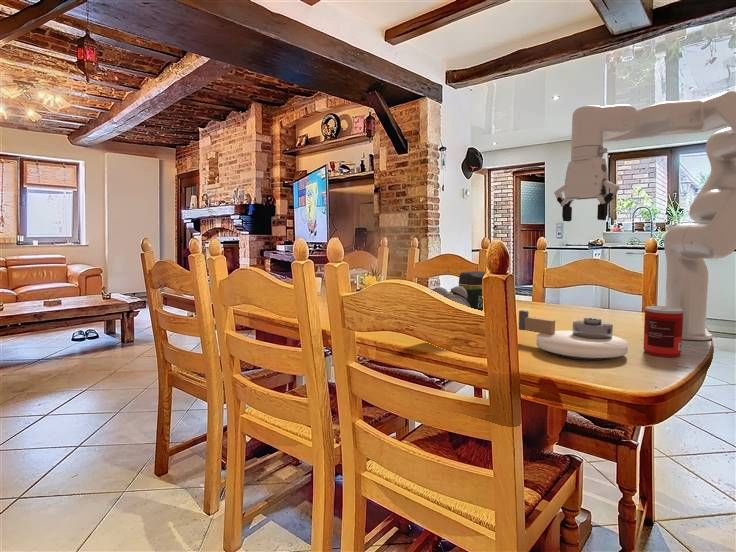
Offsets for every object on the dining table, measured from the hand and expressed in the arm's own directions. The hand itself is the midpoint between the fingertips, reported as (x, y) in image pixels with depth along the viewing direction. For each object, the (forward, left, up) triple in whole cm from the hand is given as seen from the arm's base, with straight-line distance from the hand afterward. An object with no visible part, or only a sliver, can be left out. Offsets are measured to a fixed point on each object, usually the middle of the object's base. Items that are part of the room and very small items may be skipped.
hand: (583, 220), depth 120 cm
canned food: (-1, +20, -33) cm, 38 cm away
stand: (+13, +7, -33) cm, 36 cm away
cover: (+7, +7, -29) cm, 31 cm away
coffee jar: (+15, -23, -33) cm, 43 cm away
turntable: (+13, +3, -31) cm, 34 cm away
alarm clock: (+27, -23, -33) cm, 49 cm away
